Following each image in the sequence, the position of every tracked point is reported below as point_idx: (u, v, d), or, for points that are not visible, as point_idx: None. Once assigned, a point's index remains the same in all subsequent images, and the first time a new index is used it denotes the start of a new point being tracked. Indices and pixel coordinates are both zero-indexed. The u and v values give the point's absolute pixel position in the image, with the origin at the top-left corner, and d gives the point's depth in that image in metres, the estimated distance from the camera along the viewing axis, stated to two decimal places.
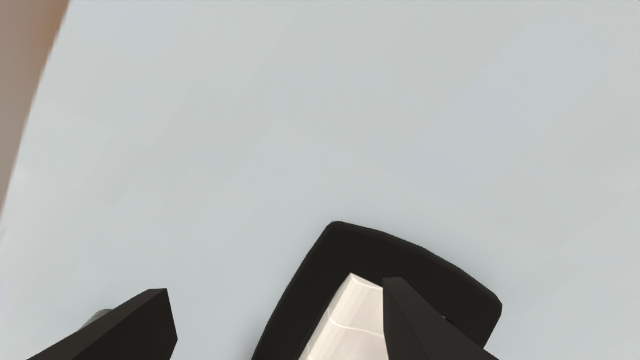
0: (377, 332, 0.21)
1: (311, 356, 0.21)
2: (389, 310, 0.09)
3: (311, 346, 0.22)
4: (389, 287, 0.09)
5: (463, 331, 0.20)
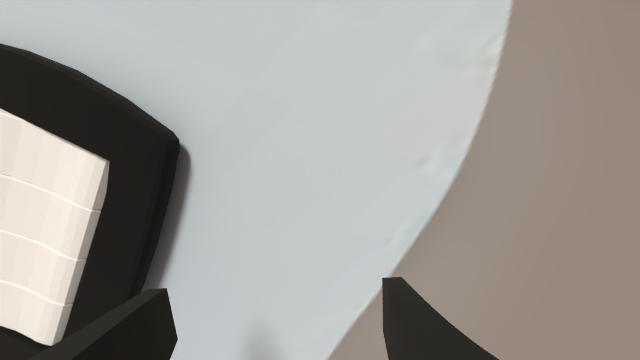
0: (31, 182, 0.17)
1: None
2: (389, 310, 0.09)
3: None
4: (389, 287, 0.09)
5: (123, 174, 0.16)
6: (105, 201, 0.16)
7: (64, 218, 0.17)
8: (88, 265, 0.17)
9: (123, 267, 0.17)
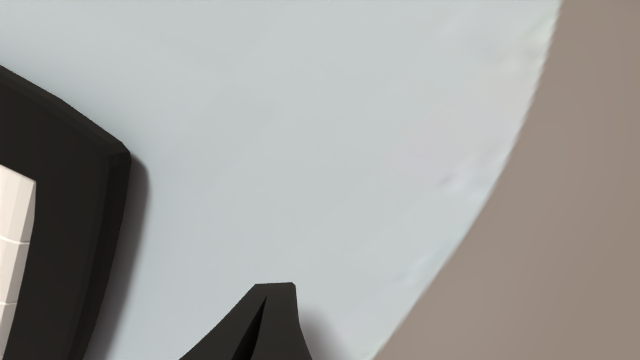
0: None
1: None
2: None
3: None
4: (269, 293, 0.09)
5: (54, 198, 0.12)
6: (33, 232, 0.13)
7: None
8: (17, 312, 0.14)
9: (61, 315, 0.14)
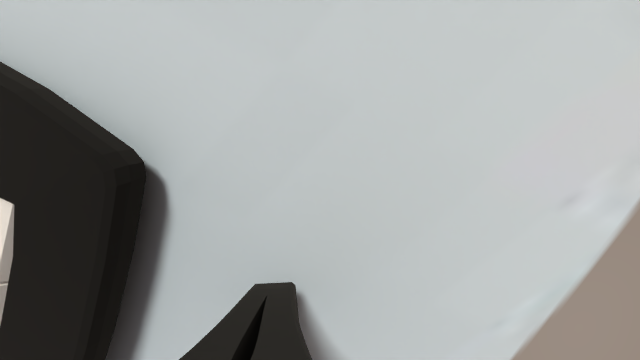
0: None
1: None
2: None
3: None
4: (269, 293, 0.09)
5: (40, 227, 0.09)
6: (12, 274, 0.09)
7: None
8: None
9: None
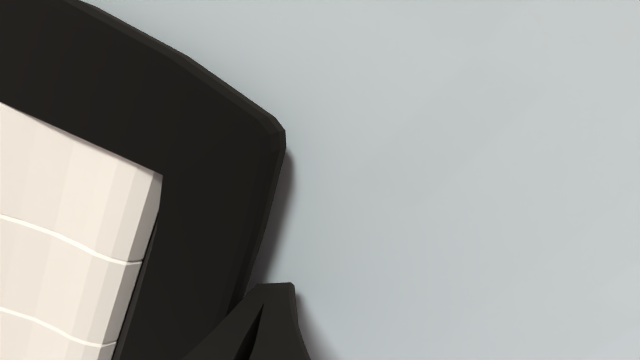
0: (17, 216, 0.09)
1: None
2: None
3: None
4: (268, 293, 0.09)
5: (188, 199, 0.08)
6: (154, 249, 0.09)
7: (78, 277, 0.10)
8: (122, 359, 0.10)
9: None
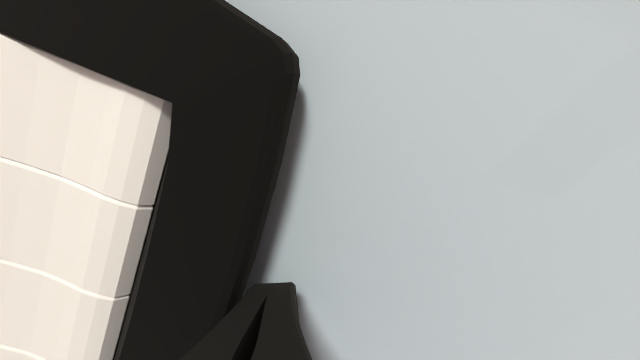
0: (22, 161, 0.09)
1: None
2: None
3: None
4: (269, 293, 0.09)
5: (199, 128, 0.08)
6: (165, 186, 0.08)
7: (87, 224, 0.09)
8: (136, 309, 0.09)
9: (200, 309, 0.09)
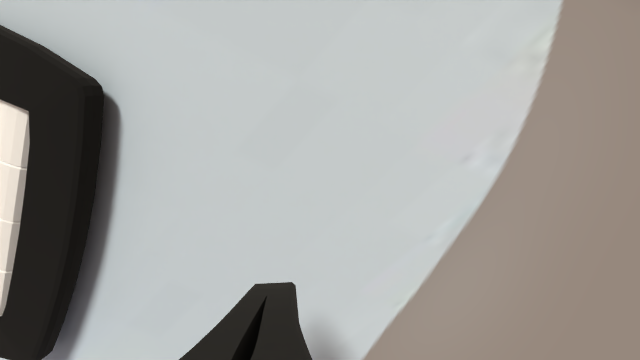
0: None
1: None
2: None
3: None
4: (269, 293, 0.09)
5: (44, 124, 0.15)
6: (30, 155, 0.16)
7: None
8: (21, 226, 0.17)
9: (57, 225, 0.17)
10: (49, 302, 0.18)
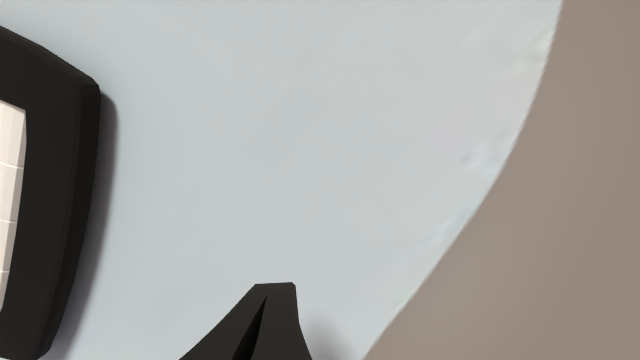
0: None
1: None
2: None
3: None
4: (269, 293, 0.09)
5: (40, 123, 0.15)
6: (26, 154, 0.16)
7: None
8: (18, 225, 0.17)
9: (54, 224, 0.17)
10: (46, 301, 0.18)
